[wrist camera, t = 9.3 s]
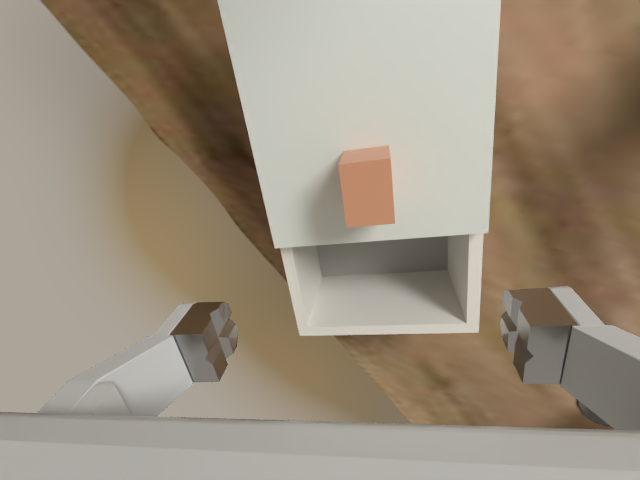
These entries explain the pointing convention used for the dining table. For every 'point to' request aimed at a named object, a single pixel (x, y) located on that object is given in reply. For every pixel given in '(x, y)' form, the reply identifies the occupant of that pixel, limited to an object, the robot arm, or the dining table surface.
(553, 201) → the dining table surface
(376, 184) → the lid
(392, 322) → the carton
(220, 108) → the dining table surface
